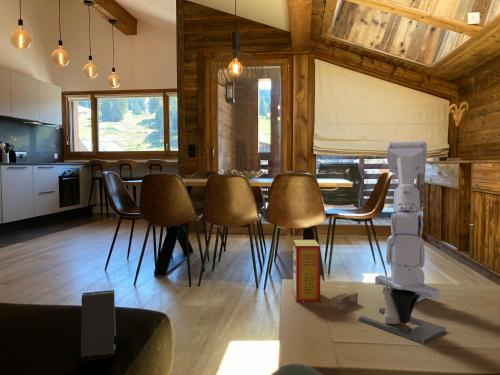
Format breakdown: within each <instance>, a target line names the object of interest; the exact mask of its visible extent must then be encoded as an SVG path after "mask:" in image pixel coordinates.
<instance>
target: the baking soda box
mask: <svg viewBox="0 0 500 375" xmlns="http://www.w3.org/2000/svg"><path fill="white" fill-rule="evenodd" d="M292 292H294V293H293V296H294V295H295V296H294V298H296V299H295V302H296V303H321V245H320V243H318V241H317V240H315V239H292ZM303 301H304V302H303Z"/></svg>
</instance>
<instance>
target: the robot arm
mask: <svg viewBox="0 0 500 375" xmlns="http://www.w3.org/2000/svg"><path fill="white" fill-rule="evenodd" d="M427 146H428V144H427V142H426V141H425V140H422V141H399V142H397V141H396V142H393V141H389V142H388V143H387V148H386V150H387V151H386V153H387V154H386V156H387V157H386V158H387V159H386V163H387V167H388V172H389V173H392V174H394V175H395V176H396V180H397V187H396V188H395V189H394V192H393V211H392V212H393V213H391V219H390V232H391V235H389V236H388V238H387V240H386V250H385V251H386V256H385V259H386V264H387V265H388V266H390V270H391V271H390V276H385V275H380V274H378V275H376V276H374V278H375V279H374V280H375V281H374V285H377V286H380V285H381V286H383V287H388V288H390V287H391V288H393V291H392V292H391V296H392V298H393V300H394V302H395V304H396V306H397V309H398V312H399V316H400V320H401V323H400V324H408V323H410V322H409V321H410V317H412V314H413V313H412V312H413V309H414V308H415V305H416V304H417V303H418V302H421V301H423V300H426V299H428V298H430V300H432V301H433V300H434V301H436V300H438V299H440V296H441V294H440V293H441V292H440V290H441V289H439V288H435V287H432V286H431V285H430V286H429V285H426V284H425V273H424V270H423V269H422V268H424V266H425V261H426V260H425V258H426V257H425V252H426V251H425V241H424V239H423V238H422V234H423V225H424V224H423V223H424V222H423V215H422V208H420V207H421V206H420V205H421V203H420V202H421V201H420V200H421V199H420V190H419V189H418V187H416V186H415V182H416V181H415V180H416V178H417V175H418V174H421V173H423V172H424V171H425V168H426V163H427V159H428V158H427V156H428V155H427V154H428V151H427V150H428V147H427Z"/></svg>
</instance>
